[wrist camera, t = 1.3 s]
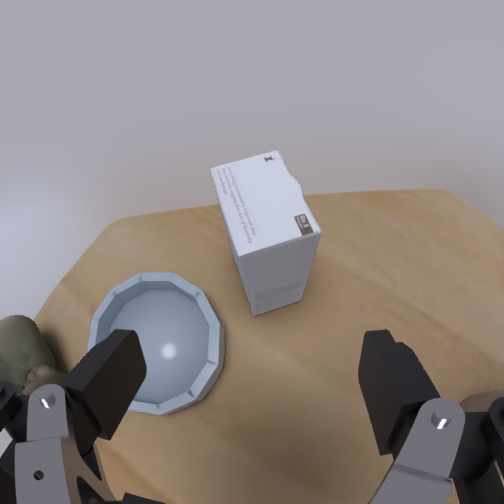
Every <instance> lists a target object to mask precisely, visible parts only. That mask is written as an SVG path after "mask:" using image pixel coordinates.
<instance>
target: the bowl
mask: <svg viewBox="0 0 504 504" xmlns="http://www.w3.org/2000/svg"><path fill="white" fill-rule="evenodd" d="M114 329H126V330H134V331H136V333H137V334H138V337H139V341H140V345H141V348H142V352H143V355H144V358H145V362H146V366H147V373H146V378H145V380H144V382H143V383H142V385H141V387H140V389H139V390H138V392H137V394H136V396H135V397H134V399H133V401H132V403H131V404H130V406H129V408H128V409H129V410H134V411H139V412H145V413H150V414H156V415H167V414H171V413H174V412H176V411H178V410H181V409H184V408H187V407H189V406H191V405H193V404H194V403H196V402H198V401H200V400H202V399H203V398H204V396H205V395H206V394H207V393H208V392H209V391H210V389H211V388H212V387H213V385H214V384H215V382H216V380H217V379H218V377H219V375H220V372H221V370H222V368H223V362H224V358H225V337H224V334H225V329H224V327H223V325H222V324H221V322H220V320H219V317H218V315H217V314H216V312H215V311H214V309H213V307H212V305H211V303H210V301H209V299H208V298H207V296H206V295H205V293H204V292H203V290H202V289H200V288H198V287H196V286H195V285H193V284H191V283H190V282H188V281H186V280H185V279H183V278H181V277H179V276H178V275H176V274H175V273H173V272H167V273H139V274H137V275H135V276H133V277H132V278H130V279H128V280H126V281H125V282H123V283H121V284H119V285H118V286H116V287H114V288H112V289H111V290H110V292H109V293H108V295H107V296H106V298H105V299H104V300H103V302H102V303H101V305H100V306H99V308H98V309H97V311H96V312H95V314H94V315H93V317H92V323H91V329H90V336H89V343H88V350H87V352H89V350H90V349H91V348H92V347H93V346H95V345H96V344H98V343H100V342H101V341H103V340H105V339H106V338H107V337H108V336H109V335H110V334H111V332H112V331H113V330H114Z"/></svg>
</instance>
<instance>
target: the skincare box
mask: <svg viewBox="0 0 504 504" xmlns="http://www.w3.org/2000/svg"><path fill="white" fill-rule="evenodd" d="M210 172H211V176H212V180H213V184H214V187H215V191H216V195H217V199H218V202H219V206H220V210H221V214H222V217H223V220H224V224H225V228H226V232H227V235H228V239H229V243H230V247H231V251H232V255H233V258H234V261H235V263H236V265H237V268H238V271H239V273H240V276H241V279H242V282H243V285H244V289H245V292H246V295H247V299H248V302H249V306H250V310H251V314H252V316H256V315H259V314H262V313H265V312H268V311H271V310H274V309H277V308H280V307H283V306H286V305H289V304H292V303H295V302H298V301H301V300H302V297H303V294H304V290H305V287H306V284H307V280H308V277H309V274H310V270H311V267H312V263H313V260H314V256H315V253H316V250H317V246H318V242H319V239H320V235H321V229H320V227H319V225H318V224H317V222H316V220H315V218H314V216H313V214H312V213H311V211H310V209H309V207H308V205H307V203H306V201H305V200H304V198H303V196H302V190H301V187H300V185H299V183H298V182H297V181H296V180H295V179H294V178H293V177H292V176H291V174H290V172H289V171H288V169H287V167H286V165H285V163H284V161H283V158H282V156H281V154H280V152H279V151H278V150H276V151H273V152H269V153H265V154H262V155H257V156H254V157H250V158H247V159H243V160H239V161H236V162H232V163H228V164H224V165H220V166H217V167H214V168H211V169H210Z"/></svg>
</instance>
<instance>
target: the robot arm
mask: <svg viewBox="0 0 504 504" xmlns="http://www.w3.org/2000/svg"><path fill="white" fill-rule="evenodd" d="M146 373H147V366H146V362H145V358H144V355H143V352H142V348H141V345H140V341H139V337H138V334H137V333H136V331H134V330H126V329H114V330H113V331H112V332H111V334H110V335H109V336H108V337H107V338H106V339H105V340H103V341H101V342H100V343H98V344H96V345H95V346H93V347H92V348H91V349H90V350H89V352H88V353H87V354H86V356H84V357H83V358H82V359H81V360H80V363H78V364H77V365H76V366H75V367H74V368H73V369H72V371H71V372H70V373H69V374H68V375H67V376H66V377H65V379H64V380H63V381H62V382H61V383H60V384H59V385H56V384H47V385H43V386H41V387H39V388H37V389H36V390H35V391H33V393H32V394H31V395H19V394H18V393H17V391H16V389H15V388H14V386H13V384H12V383H10V382H8V381H2V382H0V432H1V431H2V429H3V428H5V430H6V431H7V432H8V434H9V435H10V436H11V438H12V439H13V440H12V441H11V443H10V444H9V446H8V447H7V449H6V450H5V452H4V453H3V455H2V456H1V458H0V504H165V503H162V502H158V501H154V500H150V499H147V498H143V497H139V496H136V495H132V494H129V493H126V492H125V494H124V497H123V499H122V501H117V500H116V498H115V497H114V495H113V494H112V492H111V490H110V488H109V486H108V483H107V480H106V477H105V473H104V470H103V466H102V463H101V459H100V455H99V452H98V448H97V445H96V444H95V440H96V438H97V437H99V438H102V439H106V440H109V441H110V440H111V438H112V436H113V434H114V433H115V431H116V429H117V427H118V425H119V424H120V422H121V420H122V418H123V417H124V415H125V413H126V411H127V410H128V408H129V406H130V404H131V403H132V401H133V399H134V397H135V396H136V394H137V392H138V390H139V389H140V387H141V385H142V383H143V382H144V380H145V378H146ZM358 377H359V384H360V387H361V390H362V394H363V397H364V400H365V403H366V407H367V410H368V414H369V417H370V420H371V424H372V427H373V431H374V435H375V438H376V442H377V445H378V449H379V453H380V456H381V455H387V454H391V453H392V456H393V459H394V461H393V463H392V465H391V466H390V468H389V470H388V472H387V473H386V475H385V477H384V479H383V480H382V482H381V484H380V485H379V487H378V488H377V490H376V492H375V493H374V495H373V496H372V498H371V499H370V501H369V502H368V504H446V501H447V499H448V496H449V494H450V491H451V487H452V481H451V480H448V478H453V481H454V484H455V488H456V491H457V495H458V498H459V502H460V504H504V487H503V484H502V481H501V479H500V476H503V479H504V390H501V391H494V392H488V393H482V394H476V395H473V396H470V397H469V398H467V399H466V400H464V401H463V402H462V403H461V404H460V405H458V404H457V403H456V402H454V401H452V400H449V399H445V398H441V397H440V395H439V393H438V392H437V390H436V388H435V386H434V385H433V383H432V381H431V379H430V378H429V376H428V374H427V373H426V371H425V369H424V370H423V366H422V364H421V363H420V361H418V358H417V356H416V355H415V353H414V352H413V350H412V349H411V348H409V347H408V346H407V345H405V344H404V343H402V342H397V343H396V342H395V340H394V339H393V337H392V335H391V334H390V332H389V330H387V329H385V330H374V331H366V333H365V335H364V340H363V346H362V352H361V358H360V363H359V370H358Z"/></svg>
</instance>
